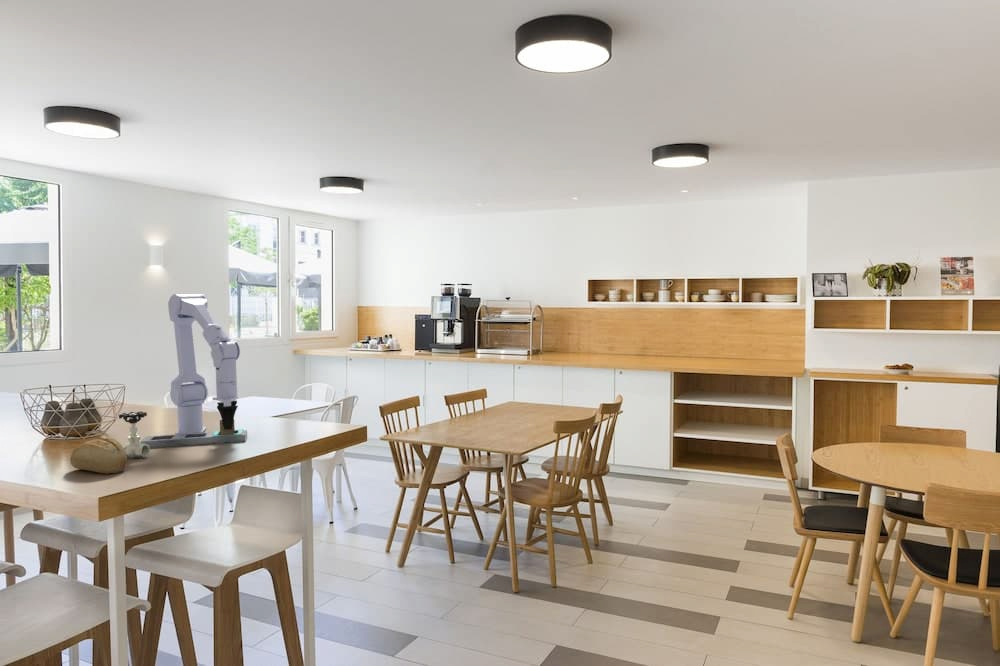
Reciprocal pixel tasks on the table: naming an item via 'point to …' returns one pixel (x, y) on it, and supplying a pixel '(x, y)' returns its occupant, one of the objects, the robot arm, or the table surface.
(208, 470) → the table surface
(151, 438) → the grey slotted board
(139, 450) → the valve
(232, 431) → the walnut block
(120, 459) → the bread roll
